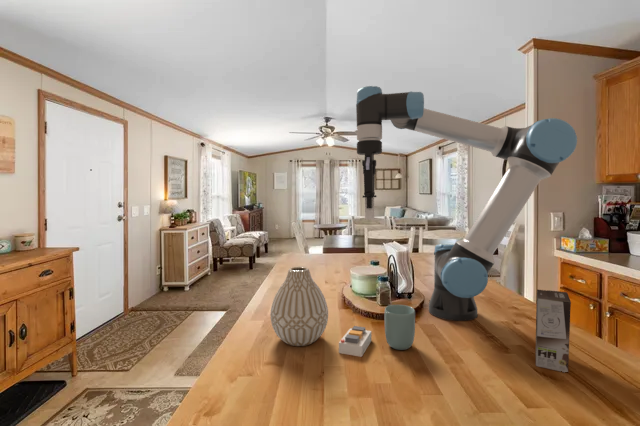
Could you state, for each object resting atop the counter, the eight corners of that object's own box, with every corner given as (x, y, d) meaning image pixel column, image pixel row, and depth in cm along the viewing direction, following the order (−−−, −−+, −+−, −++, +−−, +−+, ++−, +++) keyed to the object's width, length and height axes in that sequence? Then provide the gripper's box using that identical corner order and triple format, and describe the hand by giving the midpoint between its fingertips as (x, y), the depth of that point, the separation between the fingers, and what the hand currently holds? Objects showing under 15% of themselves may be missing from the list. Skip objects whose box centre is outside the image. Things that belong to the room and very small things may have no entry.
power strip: (350, 338, 97) (350, 323, 97) (371, 341, 95) (371, 326, 95) (338, 354, 88) (338, 338, 88) (361, 358, 86) (361, 341, 86)
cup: (416, 354, 87) (416, 315, 86) (384, 352, 88) (384, 313, 87) (414, 341, 94) (414, 305, 94) (384, 339, 96) (384, 303, 95)
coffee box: (569, 373, 77) (571, 302, 76) (535, 366, 80) (536, 297, 79) (566, 356, 84) (568, 291, 83) (535, 350, 88) (536, 288, 87)
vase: (283, 358, 86) (282, 278, 84) (263, 335, 100) (261, 266, 98) (339, 344, 93) (338, 270, 92) (312, 324, 107) (311, 260, 106)
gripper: (359, 144, 111) (359, 217, 113) (354, 138, 99) (354, 220, 100) (383, 143, 110) (383, 217, 111) (380, 137, 97) (380, 220, 99)
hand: (369, 218), depth 106 cm, fingers closed
